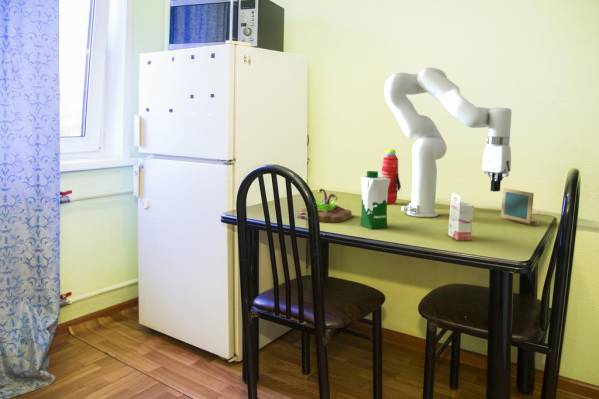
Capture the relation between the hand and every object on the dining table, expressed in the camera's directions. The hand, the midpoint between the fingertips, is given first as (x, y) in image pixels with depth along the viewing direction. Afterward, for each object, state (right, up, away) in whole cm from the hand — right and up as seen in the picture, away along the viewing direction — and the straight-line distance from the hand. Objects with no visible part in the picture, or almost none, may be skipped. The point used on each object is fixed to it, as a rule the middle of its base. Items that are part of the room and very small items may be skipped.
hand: (495, 191), depth 188 cm
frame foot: (+12, -12, +8) cm, 19 cm away
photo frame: (+10, -5, +6) cm, 13 cm away
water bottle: (-31, -5, +44) cm, 54 cm away
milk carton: (-46, -13, -3) cm, 48 cm away
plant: (-63, -10, +13) cm, 65 cm away
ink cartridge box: (-19, -16, -19) cm, 32 cm away
